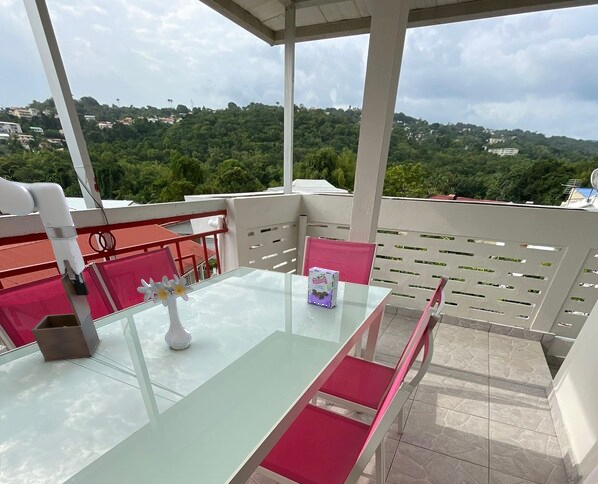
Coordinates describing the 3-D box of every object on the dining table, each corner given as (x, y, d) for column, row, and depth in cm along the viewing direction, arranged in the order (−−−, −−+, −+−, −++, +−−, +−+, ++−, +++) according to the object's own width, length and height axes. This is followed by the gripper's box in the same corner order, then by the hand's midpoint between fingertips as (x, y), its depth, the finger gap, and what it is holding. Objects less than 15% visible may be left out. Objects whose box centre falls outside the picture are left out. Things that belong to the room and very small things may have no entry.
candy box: (306, 302, 165) (308, 268, 156) (313, 299, 169) (314, 266, 160) (330, 308, 159) (333, 273, 150) (336, 305, 163) (339, 270, 154)
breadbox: (45, 361, 109) (31, 330, 103) (57, 344, 120) (45, 315, 114) (91, 357, 113) (80, 326, 106) (99, 340, 123) (90, 312, 117)
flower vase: (161, 337, 127) (145, 270, 113) (208, 340, 126) (198, 272, 112) (145, 353, 116) (125, 280, 102) (196, 356, 115) (184, 282, 101)
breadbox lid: (60, 278, 98) (63, 278, 98) (72, 267, 109) (75, 267, 109) (78, 325, 106) (81, 325, 106) (88, 311, 117) (90, 310, 117)
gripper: (55, 229, 102) (76, 288, 113) (38, 236, 91) (63, 302, 101) (82, 228, 104) (100, 287, 115) (69, 236, 92) (91, 301, 103)
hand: (83, 294), depth 108 cm, fingers closed
